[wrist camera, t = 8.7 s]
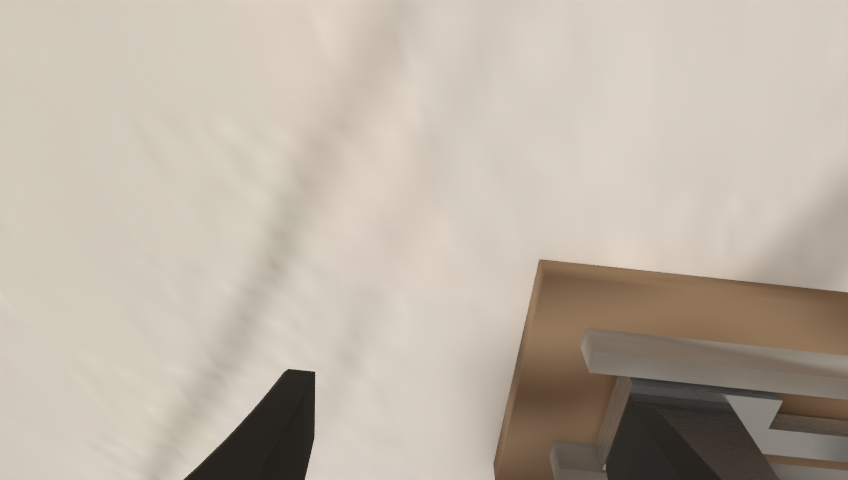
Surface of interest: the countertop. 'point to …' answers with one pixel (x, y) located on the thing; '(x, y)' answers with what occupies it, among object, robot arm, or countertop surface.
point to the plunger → (726, 426)
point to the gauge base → (664, 358)
